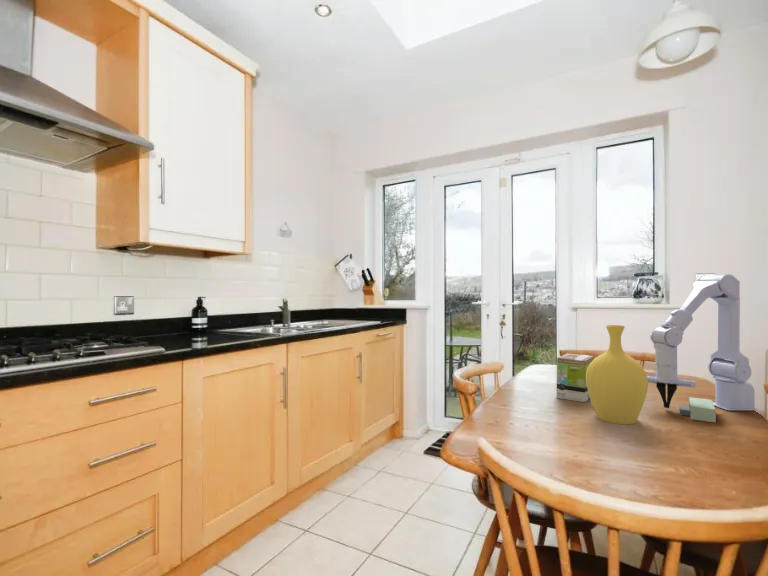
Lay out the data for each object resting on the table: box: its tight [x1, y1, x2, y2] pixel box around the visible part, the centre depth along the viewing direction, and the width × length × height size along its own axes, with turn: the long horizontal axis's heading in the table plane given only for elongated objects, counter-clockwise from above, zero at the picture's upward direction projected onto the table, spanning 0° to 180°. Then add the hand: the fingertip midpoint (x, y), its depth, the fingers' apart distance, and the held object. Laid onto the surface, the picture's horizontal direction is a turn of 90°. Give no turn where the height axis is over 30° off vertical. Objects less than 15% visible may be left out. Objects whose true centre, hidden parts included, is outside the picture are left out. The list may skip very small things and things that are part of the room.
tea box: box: [556, 353, 595, 403], centre depth 144 cm, size 15×10×15 cm, turn 143°
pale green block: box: [688, 396, 717, 424], centre depth 121 cm, size 6×13×4 cm, turn 144°
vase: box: [586, 324, 649, 425], centre depth 118 cm, size 16×16×28 cm
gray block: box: [678, 405, 691, 417], centre depth 122 cm, size 7×5×2 cm
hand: (666, 407), depth 126 cm, fingers closed
